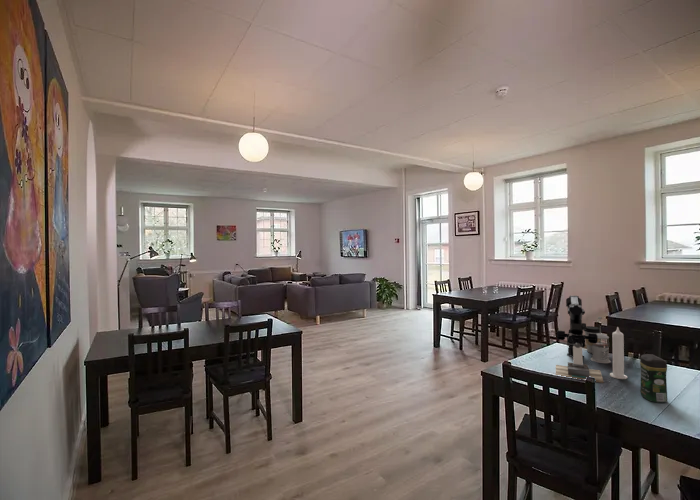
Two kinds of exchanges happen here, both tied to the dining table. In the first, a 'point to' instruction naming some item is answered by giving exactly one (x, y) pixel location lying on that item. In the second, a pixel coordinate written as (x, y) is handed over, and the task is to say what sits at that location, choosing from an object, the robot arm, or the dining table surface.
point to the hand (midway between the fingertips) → (577, 350)
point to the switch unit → (578, 372)
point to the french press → (600, 349)
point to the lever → (577, 354)
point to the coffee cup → (591, 330)
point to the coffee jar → (653, 378)
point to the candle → (618, 355)
